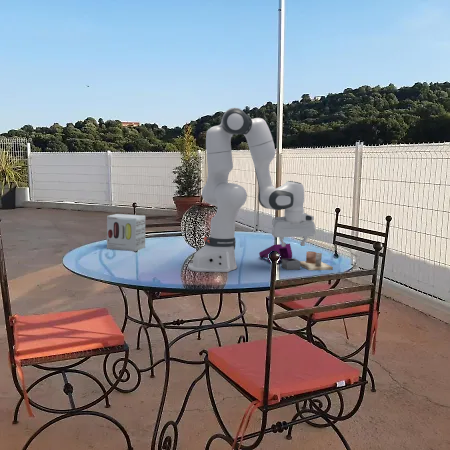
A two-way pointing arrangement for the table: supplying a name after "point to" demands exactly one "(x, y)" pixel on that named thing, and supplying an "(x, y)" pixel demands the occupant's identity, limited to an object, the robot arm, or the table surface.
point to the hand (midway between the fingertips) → (293, 246)
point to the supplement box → (126, 232)
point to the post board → (312, 266)
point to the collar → (291, 264)
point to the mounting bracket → (283, 251)
